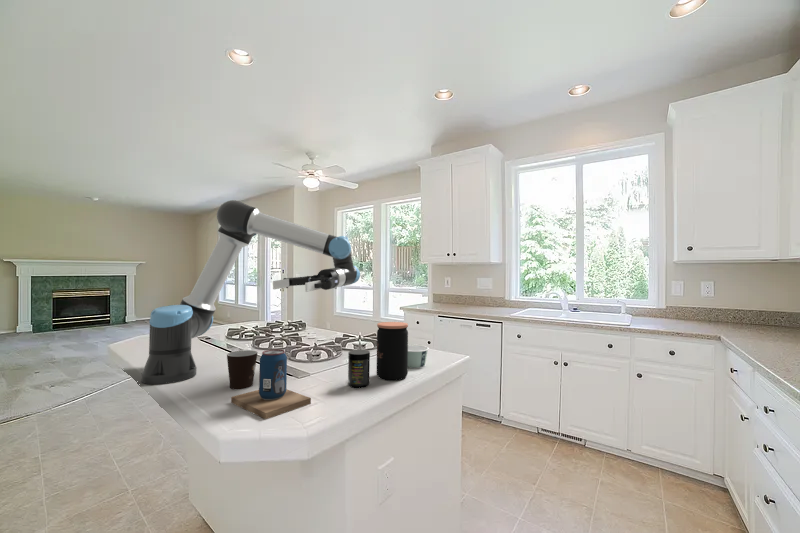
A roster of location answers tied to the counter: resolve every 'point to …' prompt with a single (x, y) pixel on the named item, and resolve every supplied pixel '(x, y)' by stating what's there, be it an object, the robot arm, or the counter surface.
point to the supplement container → (358, 368)
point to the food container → (417, 355)
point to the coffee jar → (392, 350)
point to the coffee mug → (241, 368)
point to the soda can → (273, 374)
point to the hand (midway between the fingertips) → (289, 286)
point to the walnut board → (270, 403)
